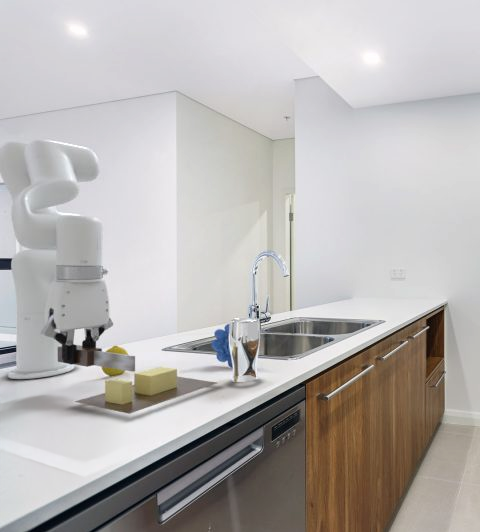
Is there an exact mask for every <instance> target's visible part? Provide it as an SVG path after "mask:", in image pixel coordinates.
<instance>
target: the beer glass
mask: <svg viewBox="0 0 480 532" xmlns="http://www.w3.org/2000/svg"><path fill="white" fill-rule="evenodd" d="M260 320H261V319H260V318H257V317H239V318H232V319H230V320H229V324H230V326H229V349H230V354H231V360H232V366H233V368H232V373H231V380H230V381H232V382H234V383H247V382H252V381H255V380H258V378H259V376H258V369H257V367H258V359H259V354H260V348H261V336H262V335H261V321H260Z"/></svg>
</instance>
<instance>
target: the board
mask: <svg viewBox="0 0 480 532" xmlns="http://www.w3.org/2000/svg"><path fill="white" fill-rule="evenodd" d="M216 384H217V382H215V381H209V380H204V379H197V378H189V377H185V376H184V377H183V376H177V387H176V388H173V389H170V390H167V391H164V392H161V393H157V394H154V395H151V396H150V395H145V394H139V393H134V384H132V402H130V403H126V404H123V405H120V404H115V403H110V402H105V392H103V393H99V394H96V395H93V396H90V397H85V398H83V399H79V400H75V401H74V402H75V403H79V404H83V405H88V406H92V407H97V408H102V409H106V410H110V411H115V412H119V413H124V414H129V415H130V414H132V413H136V412H139V411H142V410H144V409H147V408H151V407H153V406H156V405H158V404H161V403H165V402H168V401H170V400H173V399H175V398H178V397H181V396H185V395H187V394H190V393H193V392H196V391H199V390H202V389H205V388H208V387H211V386H214V385H216Z"/></svg>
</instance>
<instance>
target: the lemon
mask: <svg viewBox="0 0 480 532" xmlns="http://www.w3.org/2000/svg"><path fill="white" fill-rule="evenodd" d="M105 352H109V353H116V354H124V355H129V353H128V351H127V350H126V349H125V348H123V347H121V346H118V345H113V346H112V347H110V348H109V349H107V350H105ZM101 370H102V372H103V373H104V374H105V375H107V376H108V377H112V376H118V375H119V376H120V375H123V374H124V373H125V372H127V371H126V370H120V369H113V368H107V367H101Z"/></svg>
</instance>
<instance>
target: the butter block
mask: <svg viewBox="0 0 480 532" xmlns="http://www.w3.org/2000/svg"><path fill="white" fill-rule="evenodd" d="M133 375H134V376H133V377H134V378H133V379H134V380H133V385H134V393H139V394H145V395H150V396H151V395H154V394H157V393H161V392H164V391H167V390H170V389H173V388H176V387H177V377H178V369H177V368H171V367H164V366H157V367H155V368H151V369H147V370H143V371H139V372H135V373H134V374H133Z"/></svg>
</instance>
